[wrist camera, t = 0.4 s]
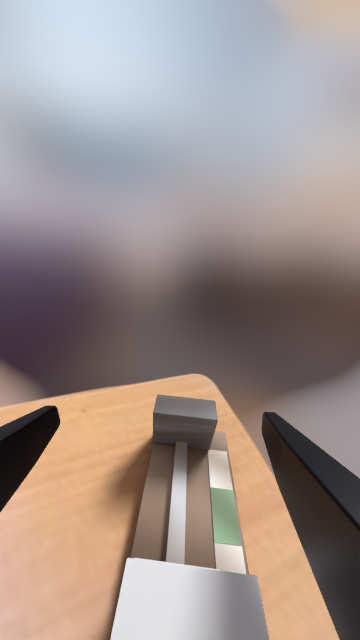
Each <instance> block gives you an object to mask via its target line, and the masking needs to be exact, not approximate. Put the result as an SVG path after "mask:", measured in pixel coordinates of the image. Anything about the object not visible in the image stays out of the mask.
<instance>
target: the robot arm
mask: <svg viewBox="0 0 360 640" xmlns="http://www.w3.org/2000/svg"><path fill="white" fill-rule="evenodd" d="M59 425H60V417H59V413H58V409H57V407H56V406H44V407H42V408H40V409H38V410H36V411H33V412H31V413H29V414H27V415H25V416H23V417H21V418H18V419H16V420H14V421H12V422H10V423H8V424H5V425H3V426H1V427H0V512H1V511H2V509H3V508H4V507H5V505H6V504H7V503H8V501H9V500H10V498H11V497H12V496H13V494H14V493H15V492H16V490H17V489H18V487H19V486H20V485H21V483H22V482H23V481H24V479H25V478H26V476H27V475H28V474H29V472H30V471H31V469H32V468H33V467H34V465H35V464H36V462H37V461H38V459H39V457H40V456H41V454H42V453H43V451H44V449H45V448H46V446H47V445H48V443H49V442H50V440H51V438H52V437H53V435H54V434H55V432H56V431H57V429H58V427H59ZM262 435H263V438H264V441H265V445H266V448H267V451H268V455H269V458H270V461H271V465H272V468H273V471H274V474H275V477H276V481H277V484H278V486H279V489H280V492H281V494H282V497H283V499H284V502H285V504H286V507H287V509H288V512H289V514H290V517H291V519H292V522H293V524H294V527H295V529H296V532H297V534H298V537H299V539H300V542H301V544H302V547H303V549H304V552H305V554H306V557H307V559H308V562H309V564H310V567H311V569H312V572H313V574H314V577H315V579H316V581H317V584H318V586H319V589H320V591H321V594H322V596H323V599H324V601H325V604H326V606H327V609H328V611H329V614H330V616H331V619H332V621H333V624H334V626H335V629H336V631H337V634H338V636H339V639H340V640H360V479H359V478H358V477H357V476H355V475H354V474H353V473H352V472H350V471H349V470H348V469H347V468H345V467H344V466H342V464H340V463H339V462H338V461H336V460H335V459H334V458H333V457H331V456H330V455H329V454H327V453H326V452H325V451H324V450H322V449H321V448H320V447H318V446H317V445H316V444H315V443H313V442H312V441H311V440H309V439H308V438H307V437H306V436H304V435H303V434H302V433H300V432H299V431H298V430H297V429H295V428H294V427H293V426H291V425H290V424H289V423H288V422H286V421H285V420H284V419H283V418H281V417H280V416H279V415H277V414H276V413H274V412H264V413H263V418H262Z"/></svg>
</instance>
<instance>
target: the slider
mask: <svg viewBox="0 0 360 640" xmlns="http://www.w3.org/2000/svg"><path fill="white" fill-rule="evenodd" d="M110 640H269V636H268V631H267V626H266V621H265V615H264V610H263V605H262V600H261V594H260V589H259V584H258V579H257V576H255V575H248V574H241V573H234V572H227V571H220V570H219V569H212V568H205V567H198V566H191V565H183V564H176V563H169V562H162V561H155V560H148V559H140V558H127V561H126V565H125V570H124V575H123V580H122V585H121V590H120V595H119V599H118V604H117V609H116V614H115V619H114V624H113V629H112V633H111V638H110Z"/></svg>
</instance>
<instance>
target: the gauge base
mask: <svg viewBox="0 0 360 640" xmlns="http://www.w3.org/2000/svg"><path fill="white" fill-rule="evenodd" d="M217 421H218V417H217V410H216V403H215V401H211V400H202V399H193V398H184V397H175V396H166V395H157V398H156V403H155V407H154V411H153V445H152V450H151V456H150V461H149V466H148V471H147V476H146V481H145V486H144V492H143V497H142V502H141V507H140V512H139V517H138V522H137V527H136V533H135V538H134V543H133V548H132V553H131V558H140V559H148V560H155V561H162V562H169V563H176V564H183V565H191V566H198V567H205V568H212V569H219V570H220V571H227V572H234V573H241V574H248V575H249V571H248V565H247V559H246V553H245V547H244V541H243V535H242V529H241V523H240V518H239V512H238V506H237V500H236V494H235V488H234V482H233V476H232V470H231V464H230V458H229V452H228V446H227V440H226V434H225V432H216V431H215V428H216V425H217Z"/></svg>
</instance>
